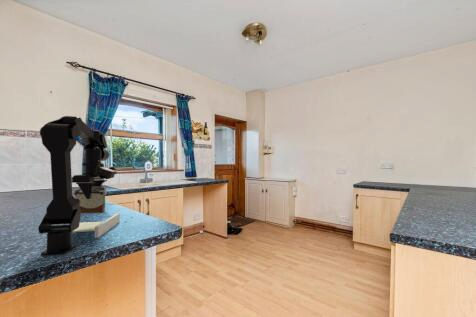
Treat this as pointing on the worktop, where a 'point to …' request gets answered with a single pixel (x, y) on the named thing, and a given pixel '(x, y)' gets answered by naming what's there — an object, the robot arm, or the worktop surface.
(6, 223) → the worktop surface
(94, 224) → the resting mat
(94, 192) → the food container
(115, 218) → the low wall
